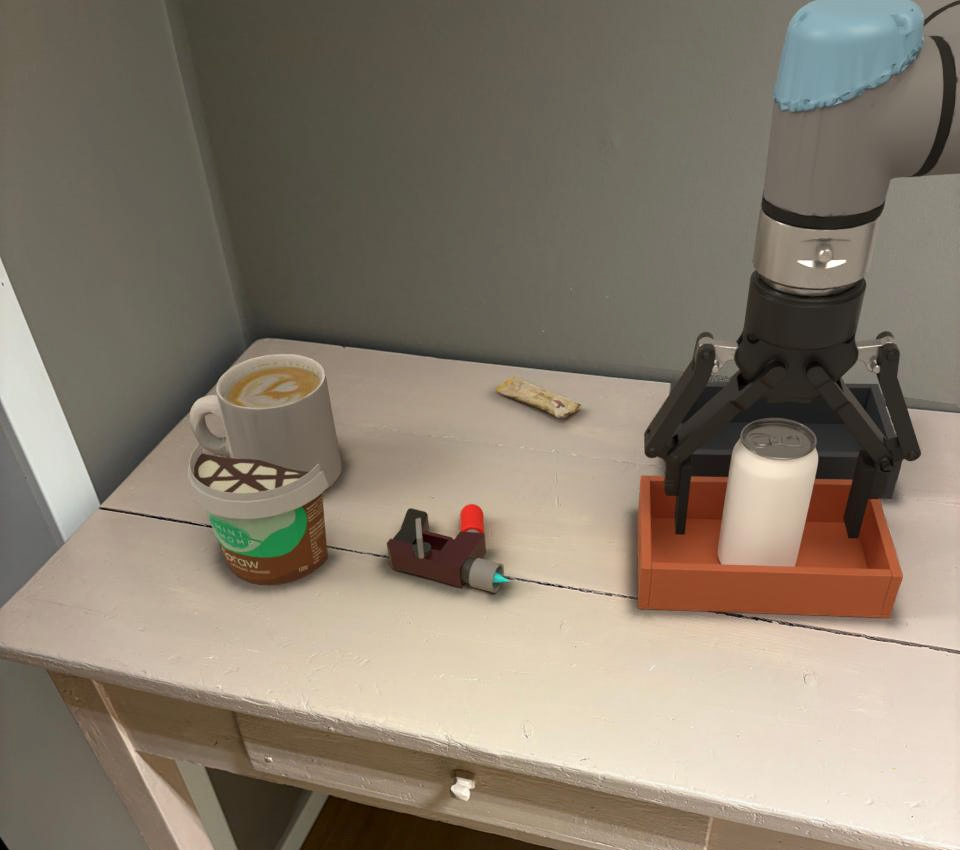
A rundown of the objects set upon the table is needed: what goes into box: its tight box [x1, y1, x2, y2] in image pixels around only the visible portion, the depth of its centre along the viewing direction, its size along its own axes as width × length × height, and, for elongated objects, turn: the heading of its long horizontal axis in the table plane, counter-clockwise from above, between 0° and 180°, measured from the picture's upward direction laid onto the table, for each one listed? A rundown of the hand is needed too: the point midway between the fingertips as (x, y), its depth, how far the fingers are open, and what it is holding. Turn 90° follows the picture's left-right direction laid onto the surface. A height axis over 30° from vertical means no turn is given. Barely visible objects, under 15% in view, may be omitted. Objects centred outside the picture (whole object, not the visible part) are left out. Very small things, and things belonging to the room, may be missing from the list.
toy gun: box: [386, 503, 511, 593], centre depth 85 cm, size 10×12×5 cm
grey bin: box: [669, 381, 904, 499], centre depth 93 cm, size 20×13×4 cm, turn 84°
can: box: [718, 418, 818, 567], centre depth 79 cm, size 6×6×12 cm
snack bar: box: [495, 376, 582, 419], centre depth 103 cm, size 10×2×3 cm
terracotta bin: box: [637, 474, 904, 619], centre depth 82 cm, size 20×13×4 cm, turn 84°
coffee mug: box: [189, 353, 343, 491], centre depth 94 cm, size 13×10×10 cm
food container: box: [187, 442, 329, 586], centre depth 83 cm, size 12×6×10 cm, turn 70°
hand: (764, 526), depth 81 cm, fingers open, 13 cm apart
